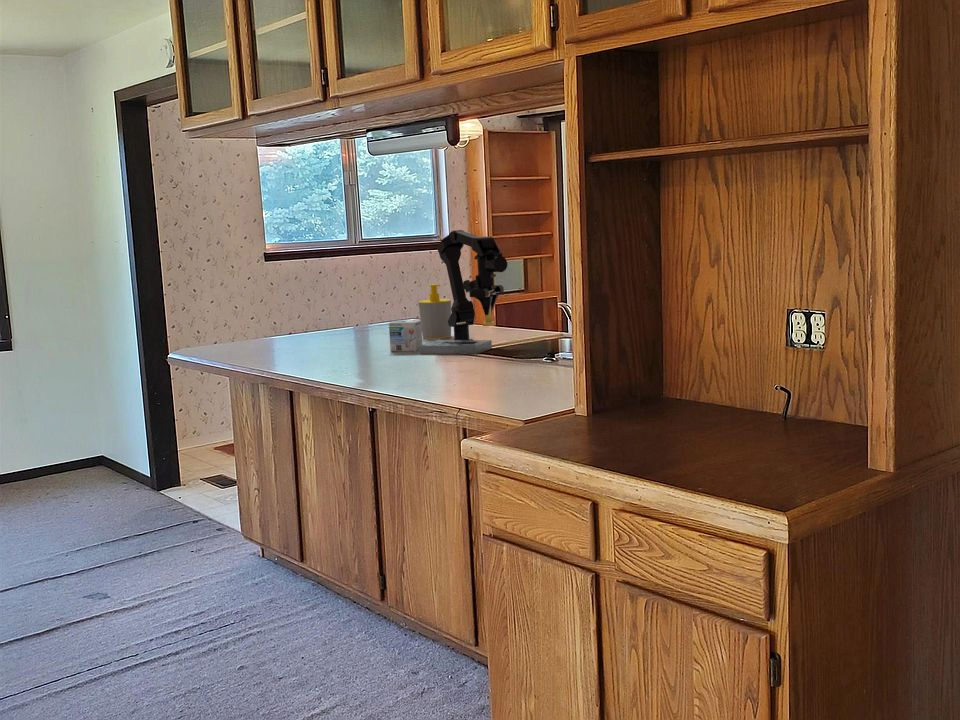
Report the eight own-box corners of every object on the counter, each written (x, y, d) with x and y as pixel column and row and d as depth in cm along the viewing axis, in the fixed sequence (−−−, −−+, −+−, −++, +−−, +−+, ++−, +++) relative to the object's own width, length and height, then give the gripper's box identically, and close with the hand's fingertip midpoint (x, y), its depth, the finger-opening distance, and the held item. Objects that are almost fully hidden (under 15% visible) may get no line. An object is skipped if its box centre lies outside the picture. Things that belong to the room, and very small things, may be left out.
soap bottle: (459, 335, 383) (456, 283, 380) (438, 339, 373) (435, 286, 370) (435, 334, 392) (432, 282, 388) (414, 338, 382) (410, 285, 378)
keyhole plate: (437, 347, 351) (436, 339, 350) (491, 348, 342) (491, 340, 342) (420, 353, 338) (419, 345, 338) (476, 354, 329) (476, 345, 329)
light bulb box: (389, 351, 349) (387, 322, 347) (396, 348, 355) (394, 320, 353) (417, 351, 345) (415, 321, 344) (423, 348, 352) (421, 319, 350)
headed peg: (485, 325, 349) (484, 299, 348) (496, 324, 347) (494, 299, 346) (481, 326, 345) (479, 300, 344) (491, 326, 344) (490, 300, 342)
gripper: (475, 270, 355) (477, 312, 357) (454, 274, 338) (457, 317, 341) (503, 269, 351) (505, 311, 353) (483, 273, 334) (486, 317, 336)
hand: (488, 314), depth 346 cm, fingers closed on headed peg, 2 cm apart
